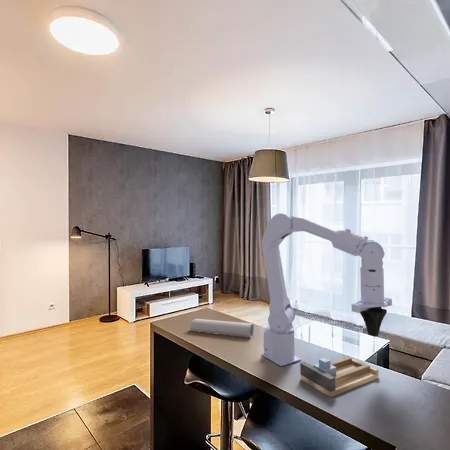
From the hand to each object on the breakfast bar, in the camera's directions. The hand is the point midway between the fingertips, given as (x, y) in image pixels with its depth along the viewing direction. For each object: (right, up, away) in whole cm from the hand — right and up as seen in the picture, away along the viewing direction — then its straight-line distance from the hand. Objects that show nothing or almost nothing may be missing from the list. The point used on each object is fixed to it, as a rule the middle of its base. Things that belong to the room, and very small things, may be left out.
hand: (373, 335), depth 82 cm
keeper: (-15, -9, -5) cm, 18 cm away
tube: (-42, -12, +33) cm, 55 cm away
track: (-10, -11, -2) cm, 15 cm away
